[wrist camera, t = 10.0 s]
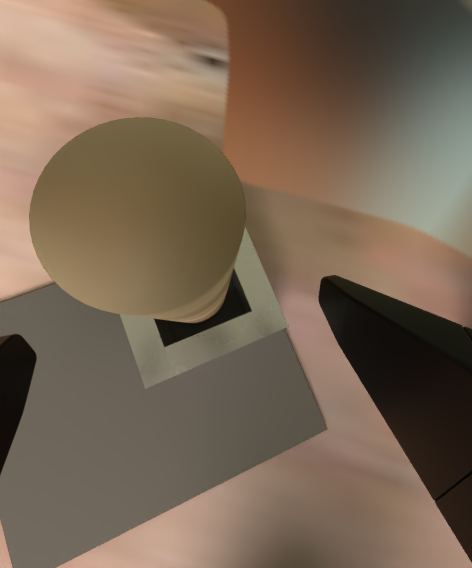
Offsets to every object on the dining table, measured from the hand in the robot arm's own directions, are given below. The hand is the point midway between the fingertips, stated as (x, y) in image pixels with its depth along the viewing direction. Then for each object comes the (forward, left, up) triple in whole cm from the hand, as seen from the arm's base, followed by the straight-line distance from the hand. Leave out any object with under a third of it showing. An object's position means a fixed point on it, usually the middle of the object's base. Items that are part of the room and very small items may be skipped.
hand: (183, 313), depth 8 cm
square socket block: (+2, 0, -10) cm, 10 cm away
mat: (-2, +5, -10) cm, 11 cm away
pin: (+2, 0, -10) cm, 10 cm away
